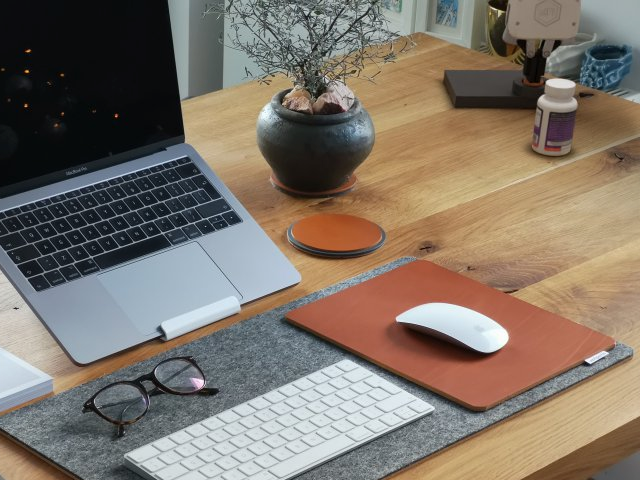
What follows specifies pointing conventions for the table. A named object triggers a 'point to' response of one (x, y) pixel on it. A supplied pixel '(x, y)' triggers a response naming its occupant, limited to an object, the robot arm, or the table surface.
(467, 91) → the scale
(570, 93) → the pill bottle
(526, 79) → the button
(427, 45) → the table surface
